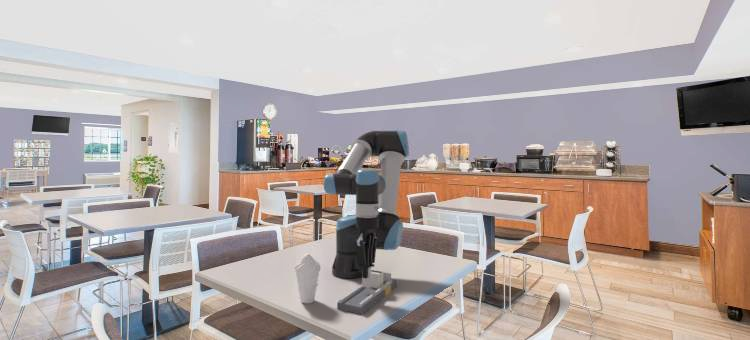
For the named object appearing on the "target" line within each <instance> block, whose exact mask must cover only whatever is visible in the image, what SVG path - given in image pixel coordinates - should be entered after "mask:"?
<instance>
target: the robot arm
mask: <svg viewBox="0 0 750 340" xmlns="http://www.w3.org/2000/svg"><path fill="white" fill-rule="evenodd" d="M409 147H410V146H409V139H408V135H407V132H406V131H405V130H371V131H368V132H366V133H364V134H362V135H360V136H358V137H357V138H356V139H355V140H354V141H353V142H352V144H351V146H350V150H349V153H348V154H347V155H346V157H345V158H344V160H343V162H342V163H341V164H340V166H339V167H338V169H337V171H336V172H335V173H327V174H326V175H325V176H324V177H323V178H324V179H323V190H324V192H325V193H326V194H328V195H335V196H337V195H345V196H348V195H349V196H350V195H351V196H355V214H353V215H348V216H343V217H340V218H339V219H337V221H336V228H335V234H336V235H335V236H336V237H335V238H336V239H335V241H336V242H335V246H336V248H335V250H336V252H335V253H336V254H335V257H334V261H333V264H332V266H331V274H332V275H333V276H334V277H337V278H341V279H359V278H361V285H362V287H366V288H370V287H371V270H372V268H374V267H375V262H376V253H377V250H384V251H395V250H397V249H398V248H399V247H400V245H401V243H402V237H403V232H404V230H403V228H404V223H403V221H401V219H400V216H399V215H398V213H397V208H398V200H399V190H400V179H401V168H402V167H401V166H402V164H403V163H404V162H405V161H406V158H408V157H409V156H410V148H409ZM371 157H378V159H379V161H380V162H381V164H380V172H379V170H377V169H362V167H363V165H364V164H365V162H366V160H369V158H371ZM379 173H380V174H379Z"/></svg>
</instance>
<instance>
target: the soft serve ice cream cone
mask: <svg viewBox="0 0 750 340" xmlns="http://www.w3.org/2000/svg"><path fill="white" fill-rule="evenodd" d="M294 270H295V271H294V272H295V274H296V275H295V276H296V283H297V284H296V286H297V289H298V292H299V294H298V295H299V299H300V302H301V304H311V303H314V302H315V299H316V292H317V289H318V288H317V287H318V285H319V284H318V281H319V279H318V278H319V275H320V274H319V273H320V271H321V264H320V262H318V260H316V259H315V258H314V257H313V256H312V255H311V254H310V253H307V252H306V253H305V254H304V256H303V257H301V258H300V259H299V260H298V262H296V263H295V266H294Z"/></svg>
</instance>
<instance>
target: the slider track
mask: <svg viewBox="0 0 750 340" xmlns="http://www.w3.org/2000/svg"><path fill="white" fill-rule="evenodd" d="M396 287H398V281H397V280H396V279H395V280H394V279H392V273H390V272H389V273H388V272H384V271H383V286H381V287H380V288H379V289H376V288H371V287H370V288H366V287H362V284H360V285H359V286H358V287H356V288H354V289H353V290H351V291H350V292H349V293H346V294H345V295H344V296H342V297H341V298H339V299H338V302H337V306H336V307H337V308H336V309H337V310H342V311H345V312H350V313H354V314H360V315H364V314H365V313H366V312H368V311H369V310H370V309H371V308H373V307H374V306H375V305H376V304H377V303H379V302H380V301H381V300H382V299H384V297H386V296H387V295H388V294H390V292H392V291H393V290H394V289H395V288H396Z"/></svg>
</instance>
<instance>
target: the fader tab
mask: <svg viewBox="0 0 750 340" xmlns="http://www.w3.org/2000/svg"><path fill="white" fill-rule="evenodd" d="M383 272H384V271H383V270H377V269H371V288H376V289H379V288H380V287H381V286H383Z"/></svg>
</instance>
